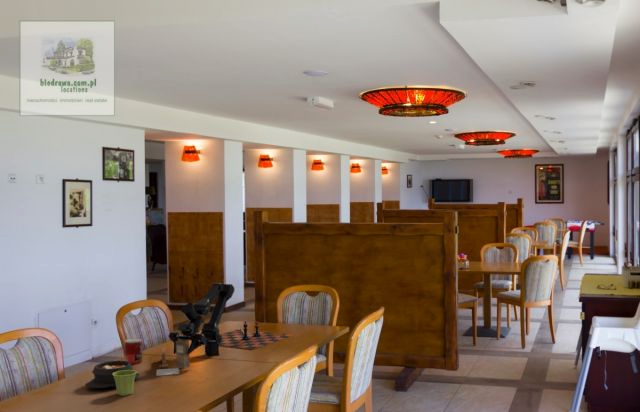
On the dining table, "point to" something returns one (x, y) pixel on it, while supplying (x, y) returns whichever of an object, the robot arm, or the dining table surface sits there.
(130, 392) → the plant pot
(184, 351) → the plain brown block
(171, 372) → the felt mat
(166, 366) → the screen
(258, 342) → the chessboard
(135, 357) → the canned food
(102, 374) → the casserole
